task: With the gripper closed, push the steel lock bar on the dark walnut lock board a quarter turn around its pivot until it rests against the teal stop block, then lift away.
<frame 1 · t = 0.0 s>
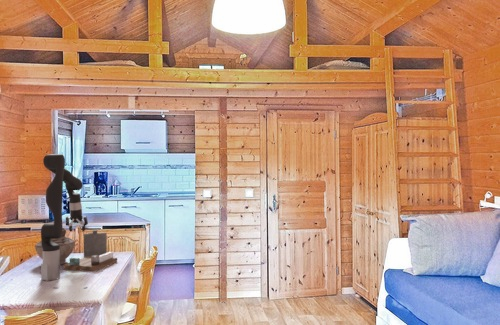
hand: (77, 231, 275), 22 cm above the table, tool pointing down, fingers open, 8 cm apart
lock board: (95, 269, 260), on the table
ceramic pot: (55, 263, 276), on the table
hip flask: (95, 257, 294), on the table
lock bar: (102, 257, 268), point 6 cm above the table, hinge at -90.0°
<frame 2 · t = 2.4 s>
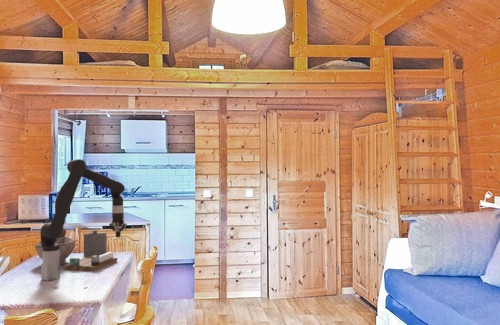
hand: (118, 237, 273), 18 cm above the table, tool pointing down, fingers closed
nothing on the table moved.
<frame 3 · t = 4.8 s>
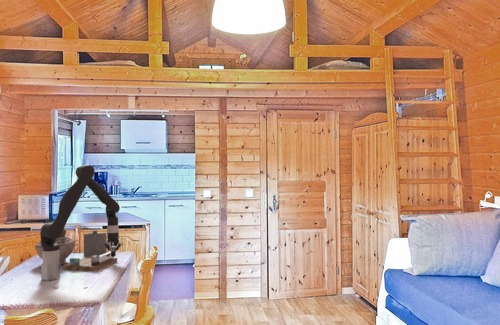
hand: (113, 256, 274), 5 cm above the table, tool pointing down, fingers closed
lock bar: (102, 257, 268), point 6 cm above the table, hinge at -89.8°, touching gripper
everything else where it was.
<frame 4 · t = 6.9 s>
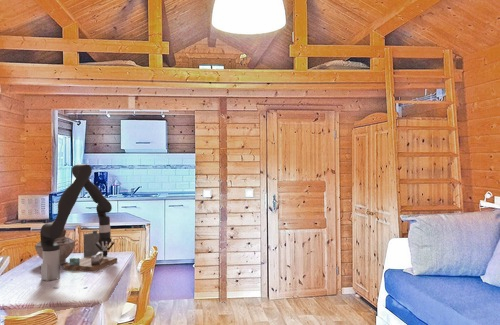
hand: (105, 256, 276), 5 cm above the table, tool pointing down, fingers closed
lock bar: (97, 257, 268), point 6 cm above the table, hinge at -65.7°, touching gripper
everything else where it was.
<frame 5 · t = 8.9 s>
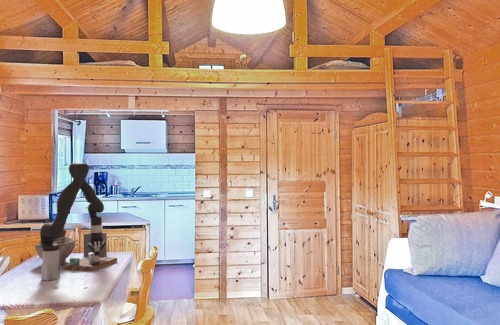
hand: (96, 256, 275), 5 cm above the table, tool pointing down, fingers closed
lock bar: (93, 257, 267), point 6 cm above the table, hinge at -45.0°, touching gripper
everything else where it was.
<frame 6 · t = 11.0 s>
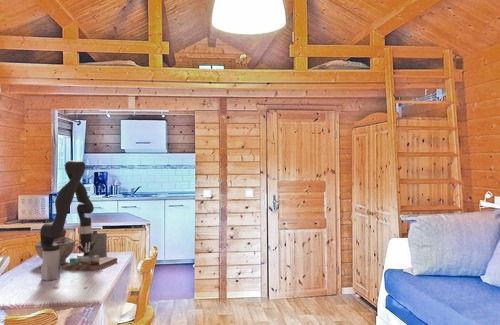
hand: (86, 257, 272), 5 cm above the table, tool pointing down, fingers closed
lock bar: (88, 258, 264), point 6 cm above the table, hinge at -19.5°, touching gripper
everything else where it was.
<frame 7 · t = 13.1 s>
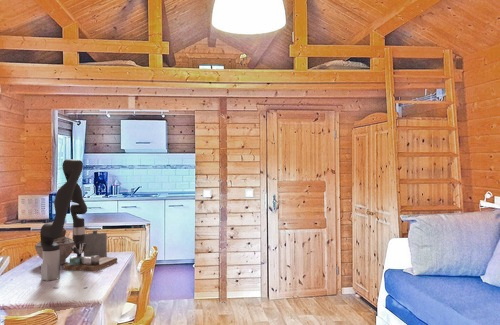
hand: (79, 259, 267), 5 cm above the table, tool pointing down, fingers closed
lock bar: (85, 259, 262), point 6 cm above the table, hinge at -0.5°, touching gripper
everything else where it was.
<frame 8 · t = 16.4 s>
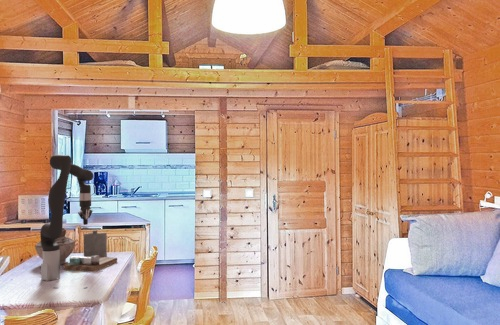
hand: (85, 224, 275), 27 cm above the table, tool pointing down, fingers closed
lock bar: (85, 259, 262), point 6 cm above the table, hinge at -0.4°
everything else where it was.
at the end: lock bar at +0° (first picture: -90°); hip flask moved 0.2 cm from its start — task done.
